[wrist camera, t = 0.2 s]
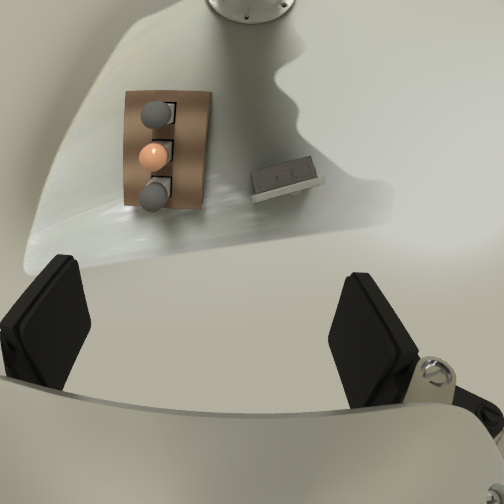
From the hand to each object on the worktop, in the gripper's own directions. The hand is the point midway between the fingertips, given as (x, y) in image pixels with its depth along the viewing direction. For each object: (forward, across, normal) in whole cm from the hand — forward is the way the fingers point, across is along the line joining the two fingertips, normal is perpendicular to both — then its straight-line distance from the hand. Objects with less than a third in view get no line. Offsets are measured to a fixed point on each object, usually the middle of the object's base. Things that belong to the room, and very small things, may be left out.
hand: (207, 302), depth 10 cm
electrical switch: (+36, -8, +4) cm, 37 cm away
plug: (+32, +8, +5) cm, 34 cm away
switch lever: (+32, +8, -5) cm, 33 cm away
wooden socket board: (+36, +8, 0) cm, 37 cm away
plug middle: (+32, +8, 0) cm, 33 cm away
